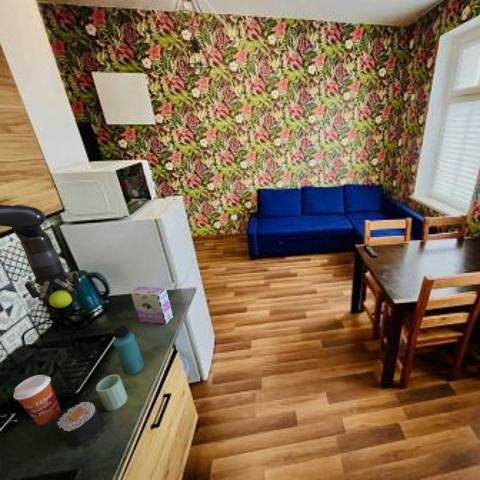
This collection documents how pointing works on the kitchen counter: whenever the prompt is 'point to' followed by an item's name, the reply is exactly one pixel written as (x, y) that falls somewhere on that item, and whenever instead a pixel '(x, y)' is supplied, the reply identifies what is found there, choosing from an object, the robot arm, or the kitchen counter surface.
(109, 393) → the ceramic cup
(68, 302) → the ball
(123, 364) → the beverage bottle
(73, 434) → the sushi
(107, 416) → the kitchen counter surface
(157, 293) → the candy box
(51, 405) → the paper cup
